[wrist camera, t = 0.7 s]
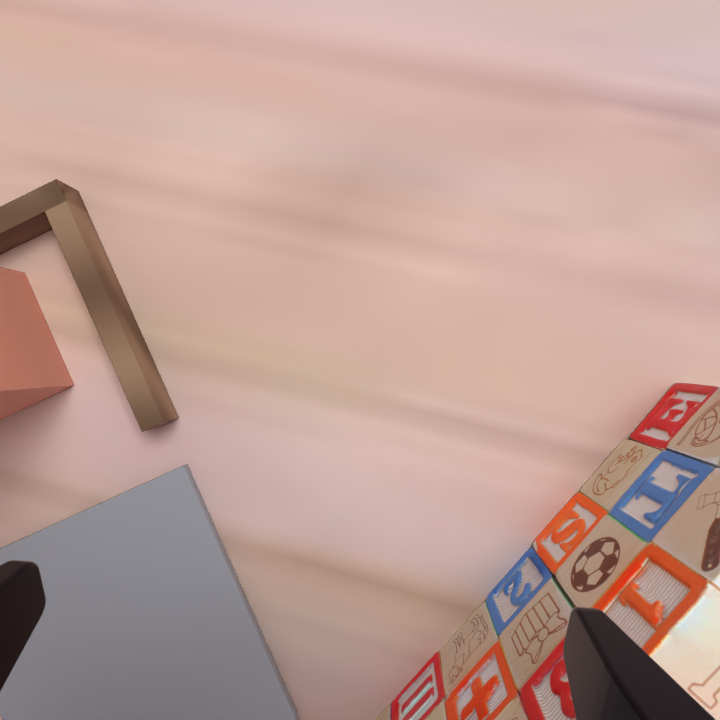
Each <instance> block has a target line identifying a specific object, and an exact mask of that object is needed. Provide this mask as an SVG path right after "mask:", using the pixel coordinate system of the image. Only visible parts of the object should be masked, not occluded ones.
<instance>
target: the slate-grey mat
mask: <svg viewBox="0 0 720 720" xmlns="http://www.w3.org/2000/svg"><path fill="white" fill-rule="evenodd" d="M12 560H19V561H31V562H34V563H36V564H37V565H38V567H39V570H40V574H41V579H42V583H43V587H44V592H45V597H46V604H45V608H44V611H43V614H42V616H41V618H40V620H39V621H38V623H37V625H36V627H35V629H34V631H33V632H32V634H31V636H30V638H29V640H28V642H27V644H26V645H25V647H24V649H23V651H22V653H21V655H20V656H19V658H18V660H17V662H16V664H15V666H14V667H13V669H12V671H11V673H10V675H9V677H8V679H7V680H6V682H5V684H4V686H3V688H2V690H1V691H0V715H1V717H2V719H3V720H300V718H299V716H298V713H297V711H296V709H295V707H294V704H293V702H292V700H291V698H290V695H289V693H288V691H287V689H286V686H285V684H284V682H283V680H282V677H281V675H280V673H279V671H278V668H277V666H276V664H275V662H274V659H273V657H272V655H271V652H270V650H269V648H268V646H267V643H266V641H265V639H264V637H263V634H262V632H261V630H260V628H259V625H258V623H257V621H256V619H255V616H254V614H253V612H252V610H251V607H250V605H249V603H248V601H247V598H246V596H245V594H244V592H243V589H242V587H241V585H240V582H239V580H238V578H237V576H236V573H235V571H234V569H233V567H232V564H231V562H230V560H229V558H228V555H227V553H226V551H225V549H224V546H223V544H222V542H221V540H220V537H219V535H218V533H217V531H216V528H215V526H214V524H213V521H212V519H211V517H210V515H209V512H208V510H207V508H206V506H205V503H204V501H203V499H202V497H201V494H200V492H199V490H198V488H197V485H196V483H195V481H194V479H193V476H192V474H191V472H190V470H189V467H188V465H187V464H186V465H184V466H182V467H179V468H177V469H175V470H173V471H171V472H168V473H166V474H164V475H162V476H160V477H157V478H155V479H153V480H151V481H148V482H146V483H144V484H142V485H140V486H137V487H135V488H133V489H131V490H129V491H126V492H124V493H122V494H120V495H118V496H115V497H113V498H111V499H109V500H107V501H104V502H102V503H100V504H98V505H96V506H93V507H91V508H89V509H87V510H85V511H82V512H80V513H78V514H76V515H74V516H71V517H69V518H67V519H65V520H62V521H60V522H58V523H56V524H54V525H51V526H49V527H47V528H45V529H43V530H40V531H38V532H36V533H34V534H32V535H29V536H27V537H25V538H23V539H21V540H18V541H16V542H14V543H12V544H10V545H7V546H5V547H3V548H1V549H0V565H2V564H4V563H6V562H8V561H12Z"/></svg>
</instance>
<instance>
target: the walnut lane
mask: <svg viewBox="0 0 720 720" xmlns="http://www.w3.org/2000/svg"><path fill="white" fill-rule="evenodd" d="M50 229H53V231H54V233H55V236H56V238H57V240H58V242H59V245H60V247H61V249H62V251H63V254H64V256H65V258H66V260H67V263H68V265H69V267H70V270H71V272H72V274H73V276H74V279H75V281H76V283H77V285H78V288H79V290H80V292H81V294H82V297H83V299H84V301H85V304H86V306H87V308H88V310H89V313H90V315H91V317H92V319H93V322H94V324H95V326H96V328H97V331H98V333H99V335H100V338H101V340H102V342H103V344H104V347H105V349H106V351H107V353H108V356H109V358H110V360H111V362H112V365H113V367H114V369H115V372H116V374H117V376H118V378H119V381H120V383H121V385H122V387H123V390H124V392H125V394H126V396H127V399H128V401H129V403H130V406H131V408H132V410H133V412H134V415H135V417H136V419H137V421H138V424H139V426H140V428H141V431H146V430H149V429H153V428H156V427H159V426H162V425H164V424H166V423H168V422H170V421H172V420H175V419H177V418H179V417H178V415H177V413H176V410H175V408H174V406H173V404H172V401H171V399H170V397H169V395H168V392H167V390H166V388H165V386H164V383H163V381H162V379H161V377H160V374H159V372H158V370H157V367H156V365H155V363H154V361H153V358H152V356H151V354H150V352H149V349H148V347H147V345H146V343H145V340H144V338H143V336H142V334H141V331H140V329H139V327H138V325H137V322H136V320H135V318H134V316H133V313H132V311H131V309H130V307H129V304H128V302H127V300H126V298H125V295H124V293H123V291H122V289H121V286H120V284H119V282H118V280H117V277H116V275H115V273H114V271H113V268H112V266H111V264H110V261H109V259H108V257H107V255H106V252H105V250H104V248H103V246H102V243H101V241H100V239H99V237H98V234H97V232H96V230H95V228H94V225H93V223H92V221H91V219H90V216H89V214H88V212H87V210H86V207H85V205H84V203H83V201H82V198H81V196H80V194H79V192H78V191H77V190H75V189H74V188H72V187H70V186H68V185H66V184H64V183H63V182H61V181H59V180H57V179H56V180H54V181H52V182H49V183H47V184H45V185H43V186H41V187H39V188H37V189H35V190H33V191H31V192H29V193H27V194H25V195H23V196H21V197H19V198H17V199H15V200H13V201H11V202H9V203H7V204H5V205H3V206H1V207H0V254H1V253H3V252H5V251H7V250H9V249H11V248H13V247H15V246H17V245H19V244H21V243H24V242H26V241H28V240H30V239H32V238H34V237H36V236H38V235H40V234H42V233H44V232H46V231H48V230H50Z"/></svg>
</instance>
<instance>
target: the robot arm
mask: <svg viewBox="0 0 720 720" xmlns="http://www.w3.org/2000/svg"><path fill="white" fill-rule="evenodd" d="M45 604H46V597H45V592H44V587H43V583H42V579H41V574H40V570H39V567H38V565H37V564H36V563H34V562H31V561H19V560H12V561H8V562H6V563H4V564H2V565H0V691H1V690H2V688H3V686H4V684H5V682H6V680H7V679H8V677H9V675H10V673H11V671H12V669H13V667H14V666H15V664H16V662H17V660H18V658H19V656H20V655H21V653H22V651H23V649H24V647H25V645H26V644H27V642H28V640H29V638H30V636H31V634H32V632H33V631H34V629H35V627H36V625H37V623H38V621H39V620H40V618H41V616H42V614H43V611H44V608H45ZM563 655H564V662H565V667H566V672H567V677H568V682H569V686H570V691H571V696H572V701H573V706H574V711H575V715H576V720H716V719H715V718H714V717H713V716H711V715H710V714H709V713H708V712H707V711H706V710H705V709H704V708H703V707H702V706H701V705H700V704H699V703H698V702H697V701H696V700H695V699H694V698H693V697H692V696H691V695H690V694H689V693H688V692H686V691H685V690H684V689H683V688H682V687H681V686H680V685H679V684H678V683H677V682H676V681H675V680H674V679H673V678H672V677H671V676H670V675H669V674H668V673H667V672H666V671H665V670H664V669H662V668H661V667H660V666H659V665H658V664H657V663H656V662H655V661H654V660H653V659H652V658H651V657H650V656H649V655H648V654H647V653H646V652H645V651H644V650H643V649H642V648H641V647H640V646H639V645H637V644H636V643H635V642H634V641H633V640H632V639H631V638H630V637H629V636H628V635H627V634H626V633H625V632H624V631H623V630H622V629H621V628H620V627H619V626H618V625H617V624H616V623H615V622H614V621H612V620H611V619H610V618H609V617H608V616H607V615H606V614H605V613H604V612H603V611H601V610H600V609H597V608H587V607H575V608H573V609H572V611H571V614H570V618H569V622H568V627H567V631H566V635H565V640H564V645H563Z"/></svg>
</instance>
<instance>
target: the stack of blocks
mask: <svg viewBox="0 0 720 720" xmlns="http://www.w3.org/2000/svg"><path fill="white" fill-rule="evenodd" d="M575 607H587V608H597V609H600V610H601V611H603V612H604V613H605V614H606V615H607V616H608V617H609V618H610V619H611V620H612V621H614V622H615V623H616V624H617V625H618V626H619V627H620V628H621V629H622V630H623V631H624V632H625V633H626V634H627V635H628V636H629V637H630V638H631V639H632V640H633V641H634V642H635V643H636V644H637V645H639V646H640V647H641V648H642V649H643V650H644V651H645V652H646V653H647V654H648V655H649V656H650V657H651V658H652V659H653V660H654V661H655V662H656V663H657V664H658V665H659V666H660V667H661V668H662V669H664V670H665V671H666V672H667V673H668V674H669V675H670V676H671V677H672V678H673V679H674V680H675V681H676V682H677V683H678V684H679V685H680V686H681V687H682V688H683V689H684V690H685V691H686V692H688V693H689V694H690V695H691V696H692V697H693V698H694V699H695V700H696V701H697V702H698V703H699V704H700V705H701V706H702V707H703V708H704V709H705V710H706V711H707V712H708V713H709V714H710V715H711V716H713V717H714V718H715V719H716V720H720V387H716V386H706V385H698V384H687V383H675V384H674V385H673V386H672V387H671V388H670V389H669V391H668V392H667V393H666V394H665V396H664V397H663V398H662V399H661V400H660V401H659V403H658V404H657V405H656V406H655V407H654V408H653V410H652V411H651V412H650V413H649V414H648V415H647V417H646V418H645V419H644V420H643V421H642V422H641V423H640V425H639V426H638V428H637V429H636V430H635V431H634V432H633V433H632V434H631V436H630V438H629V439H625V440H623V441H622V442H621V443H620V444H619V445H618V447H617V448H616V449H615V450H614V451H613V452H612V453H611V455H610V456H609V457H608V458H607V459H606V460H605V461H604V462H603V464H602V465H601V466H600V467H599V468H598V469H597V470H596V472H595V473H594V474H593V475H592V476H591V477H590V478H589V480H588V481H587V482H586V483H585V484H584V485H583V487H582V488H581V490H580V492H578V493H577V494H575V496H574V497H573V498H572V499H571V500H570V501H569V502H568V503H567V504H566V505H565V506H564V508H563V509H562V510H561V511H560V512H559V513H558V514H557V515H556V516H555V518H554V519H553V520H552V521H551V522H550V523H549V524H548V525H547V526H546V528H545V529H544V530H543V531H542V532H541V533H540V535H539V536H538V537H537V538H536V539H535V540H534V541H533V545H532V547H531V548H530V549H529V550H528V551H527V552H526V553H525V554H524V555H523V556H522V558H521V559H520V560H519V561H518V562H517V564H516V565H515V566H514V567H513V568H512V569H511V570H510V571H509V572H508V573H507V575H506V576H505V577H504V578H503V579H502V580H501V582H500V583H499V584H498V585H497V586H496V587H495V588H494V589H493V590H492V592H491V593H490V594H489V595H488V597H487V599H486V601H484V602H483V603H482V604H481V605H480V606H479V607H478V608H477V609H476V610H475V612H474V613H473V614H472V615H471V616H470V617H469V619H468V620H467V621H466V622H465V623H464V624H463V625H462V626H461V628H460V629H459V630H458V631H457V632H456V633H455V634H454V636H453V637H452V638H451V639H450V640H449V641H448V642H447V644H446V645H445V646H444V647H443V648H442V650H441V651H440V652H437V653H436V654H435V655H434V656H433V657H432V658H431V659H430V660H429V661H428V662H427V663H426V664H425V666H424V667H423V668H422V669H421V670H420V671H419V673H418V674H417V675H416V676H415V677H414V678H413V679H412V680H411V682H410V683H409V684H408V685H407V686H406V687H405V688H404V689H403V691H402V692H401V693H400V694H399V695H398V696H397V697H396V698H395V700H394V701H393V702H392V703H391V705H389V706H388V707H387V708H386V709H385V710H384V711H383V712H382V713H381V714H380V716H379V717H378V718H377V719H376V720H576V715H575V711H574V706H573V701H572V696H571V691H570V686H569V682H568V677H567V672H566V667H565V662H564V655H563V645H564V640H565V635H566V631H567V627H568V622H569V618H570V614H571V611H572V609H573V608H575Z"/></svg>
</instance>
